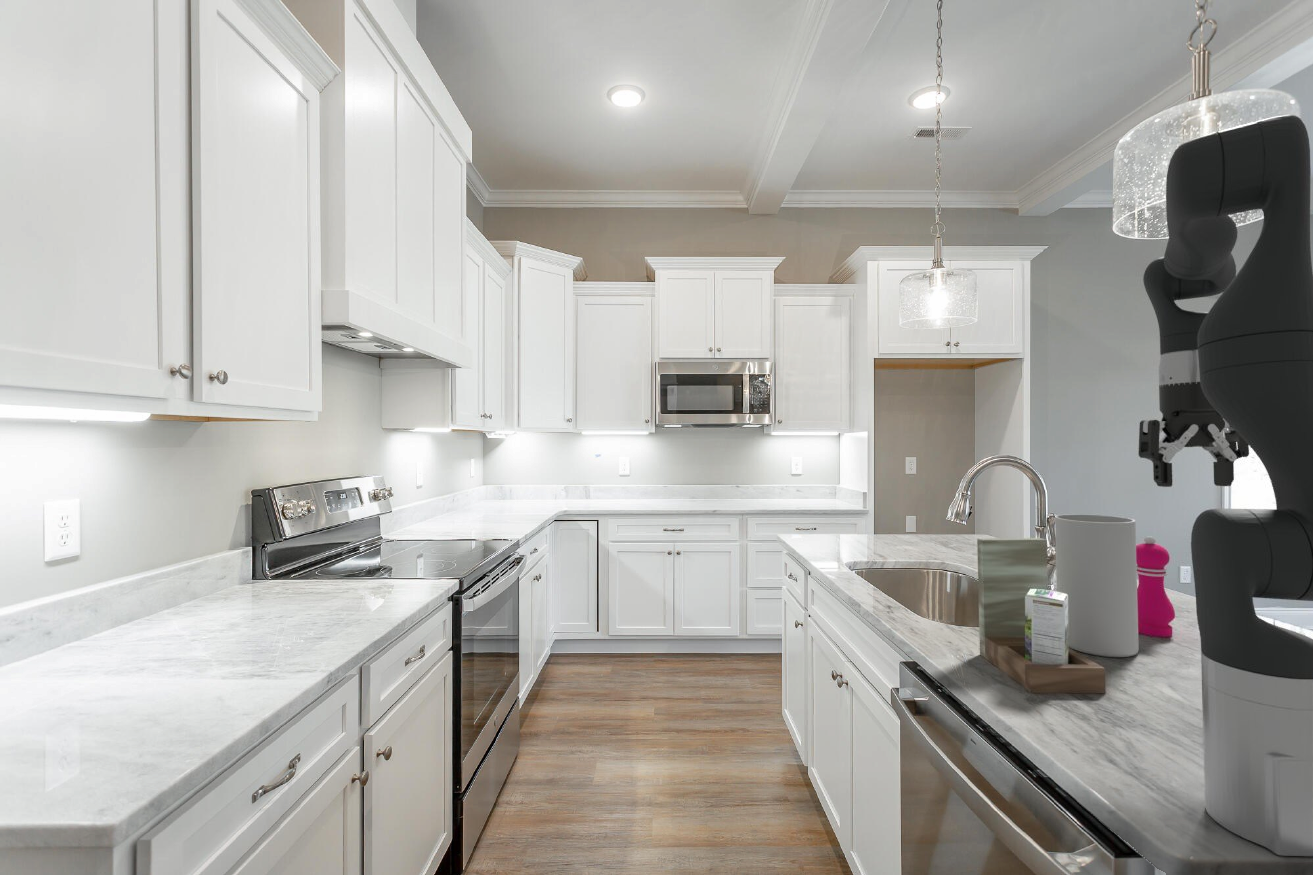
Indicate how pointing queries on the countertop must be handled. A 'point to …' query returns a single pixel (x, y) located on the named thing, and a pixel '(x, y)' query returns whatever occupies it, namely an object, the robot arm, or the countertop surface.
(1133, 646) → the cylinder vase
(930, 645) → the countertop surface
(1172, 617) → the pepper mill
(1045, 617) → the syrup box
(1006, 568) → the wooden tray stand
